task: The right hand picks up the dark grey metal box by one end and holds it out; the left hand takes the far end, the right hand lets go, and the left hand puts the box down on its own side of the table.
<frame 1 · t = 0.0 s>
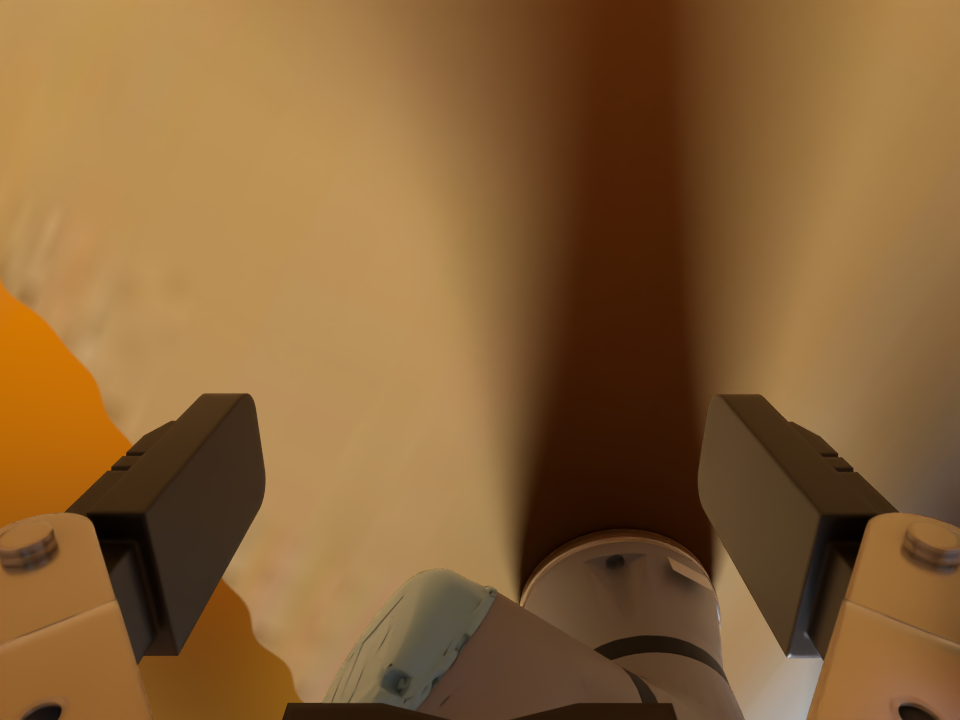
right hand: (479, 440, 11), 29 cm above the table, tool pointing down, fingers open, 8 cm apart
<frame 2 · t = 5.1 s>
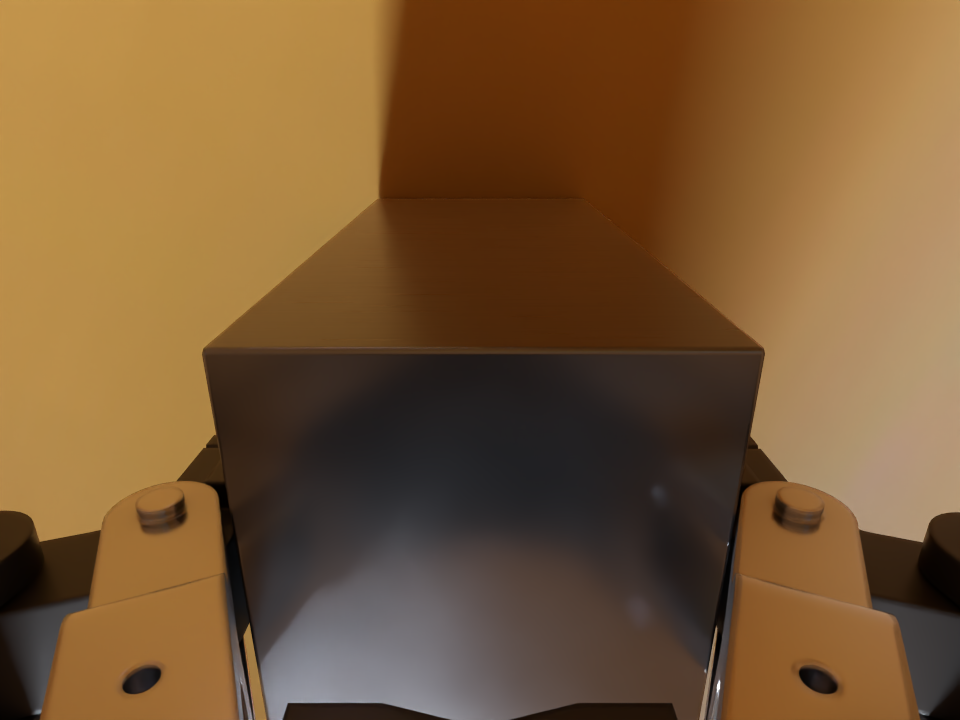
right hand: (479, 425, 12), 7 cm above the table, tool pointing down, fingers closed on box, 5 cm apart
box: (480, 567, 22), on the table, touching right hand
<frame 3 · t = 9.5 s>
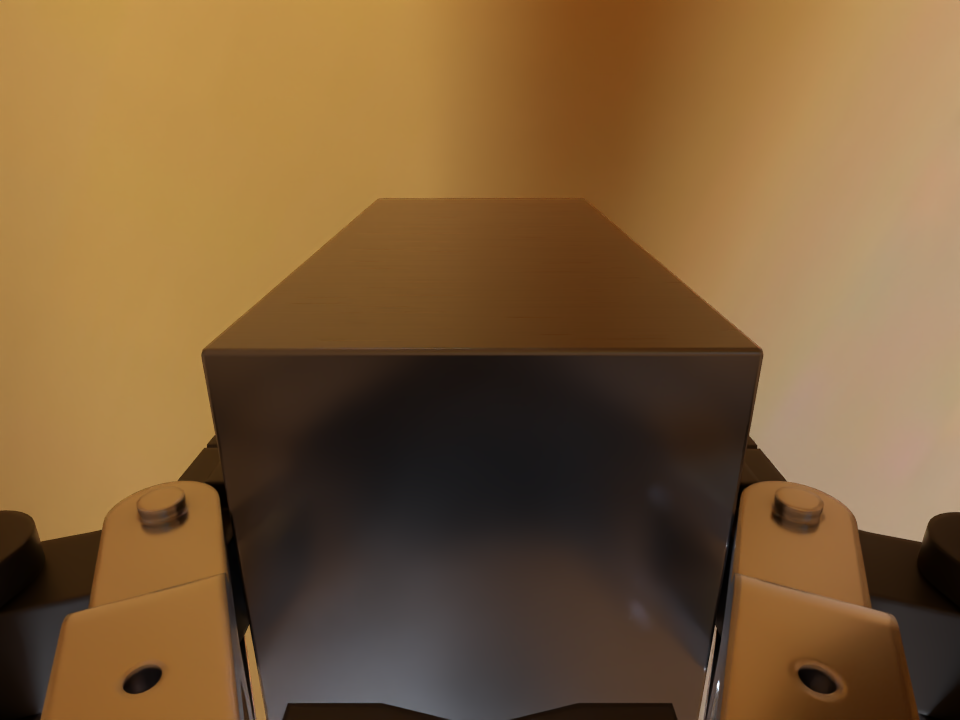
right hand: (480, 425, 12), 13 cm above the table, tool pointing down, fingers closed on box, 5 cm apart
box: (481, 567, 22), point 6 cm above the table, touching right hand, left hand
when the right hand's fingers open (13 cm above the table, at t = 10.4 s): box stays where it is, held by the left hand.
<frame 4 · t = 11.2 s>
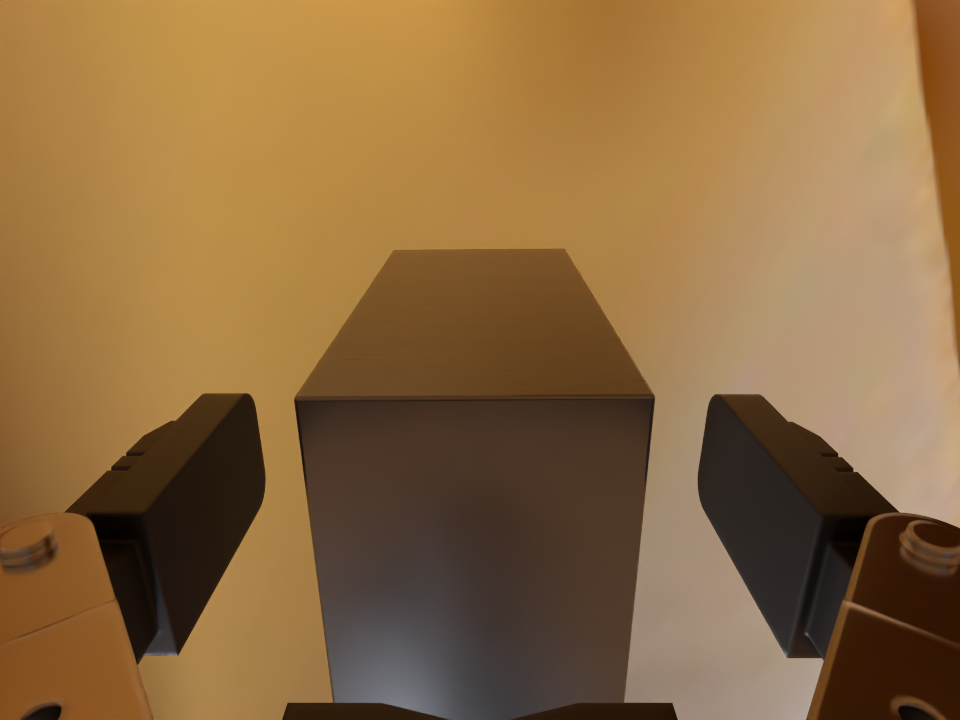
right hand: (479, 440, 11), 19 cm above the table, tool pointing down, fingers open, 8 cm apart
box: (482, 558, 25), point 8 cm above the table, touching left hand
when the left hand's fingers open (4 cm above the table, at t = 14.1 s): box drops 1 cm, on the table.
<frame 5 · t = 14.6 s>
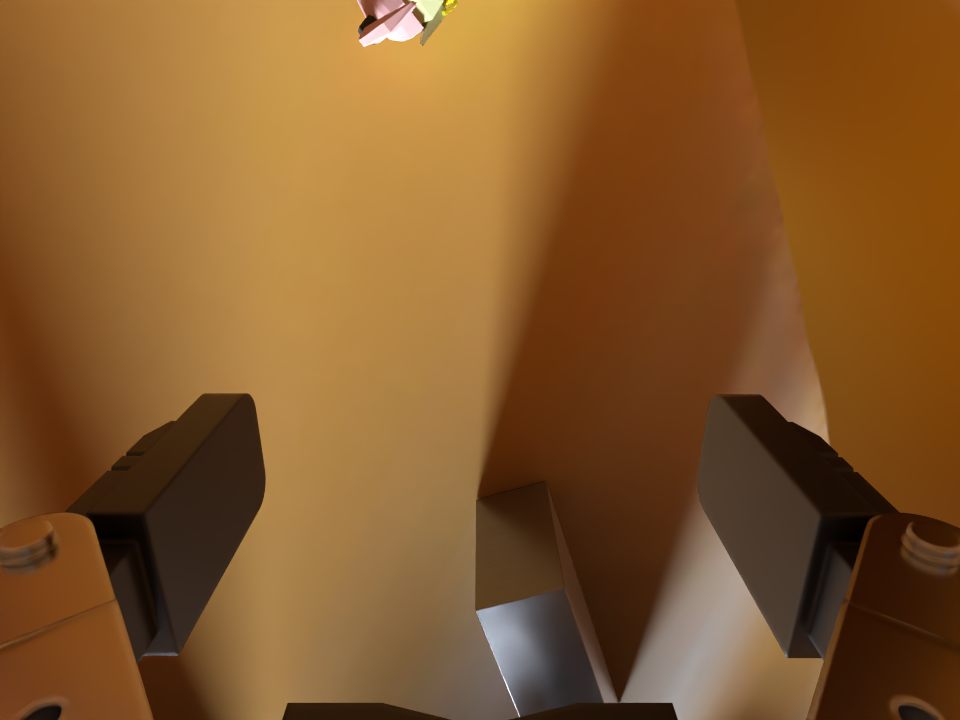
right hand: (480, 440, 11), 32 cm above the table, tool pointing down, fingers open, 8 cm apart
box: (553, 610, 53), on the table
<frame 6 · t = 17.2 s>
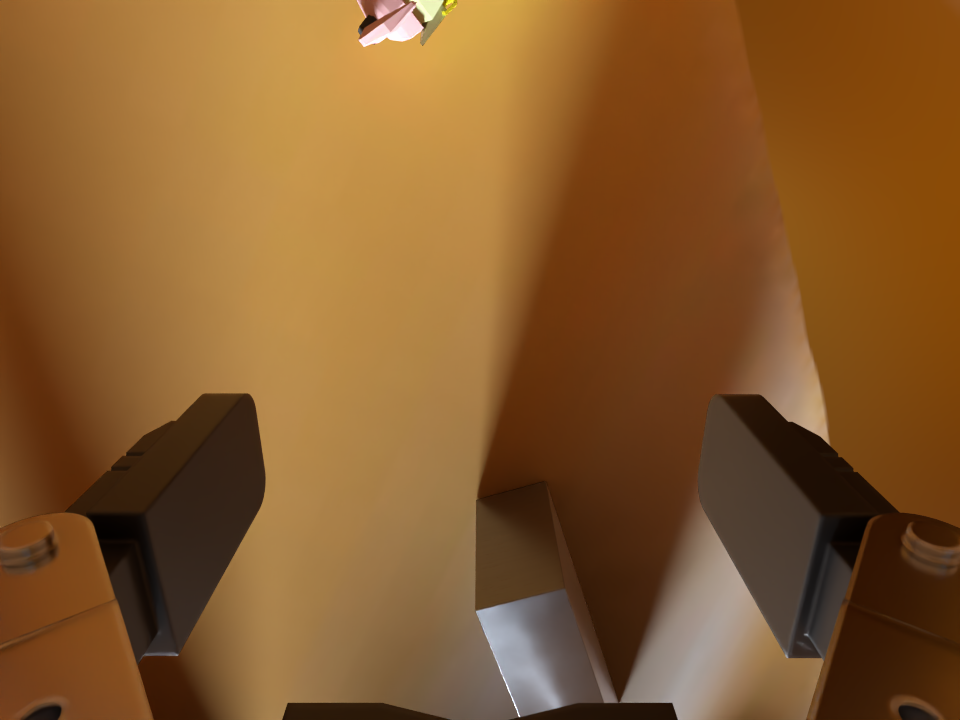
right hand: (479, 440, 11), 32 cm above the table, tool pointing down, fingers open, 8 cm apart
box: (553, 610, 53), on the table
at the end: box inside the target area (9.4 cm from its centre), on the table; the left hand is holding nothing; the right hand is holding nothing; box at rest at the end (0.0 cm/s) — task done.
